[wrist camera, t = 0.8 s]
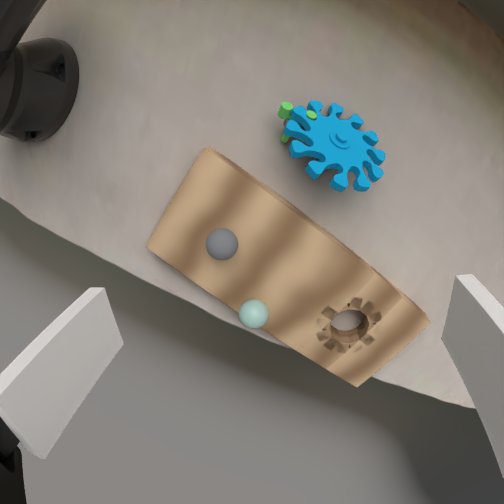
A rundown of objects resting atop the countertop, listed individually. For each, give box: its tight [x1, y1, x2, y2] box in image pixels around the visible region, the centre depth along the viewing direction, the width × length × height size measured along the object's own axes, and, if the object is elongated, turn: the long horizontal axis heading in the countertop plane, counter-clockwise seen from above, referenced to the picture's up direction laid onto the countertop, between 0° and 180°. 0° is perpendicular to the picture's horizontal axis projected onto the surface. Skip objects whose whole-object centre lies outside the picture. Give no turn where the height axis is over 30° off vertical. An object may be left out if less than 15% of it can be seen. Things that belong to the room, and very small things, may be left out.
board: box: [146, 147, 430, 387], centre depth 34 cm, size 32×13×2 cm, turn 55°
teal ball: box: [239, 299, 269, 329], centre depth 33 cm, size 3×3×3 cm
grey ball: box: [206, 228, 238, 261], centre depth 31 cm, size 3×3×3 cm
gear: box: [278, 101, 385, 192], centre depth 28 cm, size 11×6×10 cm
